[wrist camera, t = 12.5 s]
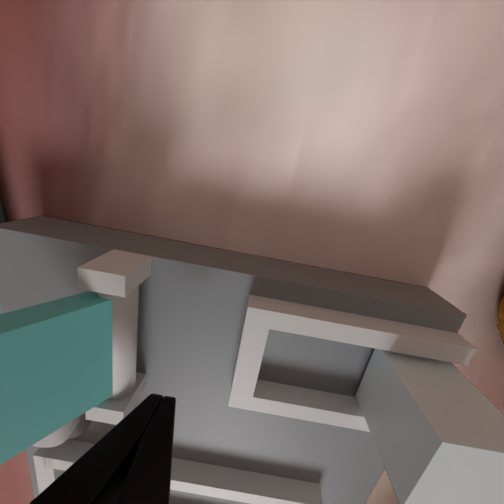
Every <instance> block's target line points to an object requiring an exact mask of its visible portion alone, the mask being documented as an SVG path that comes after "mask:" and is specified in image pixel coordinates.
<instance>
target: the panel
mask: <svg viewBox="0 0 504 504" xmlns="http://www.w3.org/2000/svg"><path fill="white" fill-rule="evenodd" d="M137 286H139V300H138V330H137V360H136V384H135V386H134V388H133V390H132V391H131V392H130V393H128V394H127V395H125V396H123V397H121V398H117V399H106V400H105V401H103V402H101V403H100V404H98V405H97V406H95V407H93V408H92V409H90V410H89V411H87V412H85V413H84V414H82V415H80V416H79V417H77V418H76V419H74V420H72V421H71V422H69V423H68V424H66V425H64V426H63V427H61V428H60V429H58V430H56V431H55V432H53V433H51V434H50V435H48V436H47V437H45V438H43V439H42V440H40V441H39V442H37V443H35V444H34V445H32V446H30V447H29V448H27V449H26V452H27V457H28V463H29V469H30V475H31V480H32V486H33V492H34V498H36V497H37V496H38V495H39V494H40V493H41V492H42V491H44V490H45V489H46V488H47V487H48V486H49V485H50V484H51V483H52V482H54V481H55V480H56V479H57V478H58V477H59V476H60V475H61V474H62V473H64V472H65V471H66V470H67V469H68V468H69V467H70V466H71V465H72V464H74V463H75V462H76V461H77V460H78V459H79V458H80V457H81V456H82V455H84V454H85V453H86V452H87V451H88V450H89V449H90V448H91V447H92V446H93V445H95V444H96V443H97V442H98V441H99V440H100V439H101V438H102V437H103V436H105V435H106V434H107V433H108V432H109V431H110V430H111V429H112V428H113V427H115V426H116V425H117V424H118V423H119V422H120V421H121V420H122V419H123V418H125V417H126V416H127V415H128V414H129V413H130V412H131V411H132V410H133V409H134V408H136V407H137V406H138V405H139V404H140V403H141V402H142V401H143V400H144V399H146V398H147V397H148V396H149V395H150V394H153V393H154V394H160V395H163V397H164V396H171V397H175V398H176V408H175V423H174V438H173V454H172V469H171V484H170V500H169V504H366V502H367V500H368V498H369V496H370V495H371V493H372V491H373V489H374V487H375V485H376V483H377V482H378V480H379V478H380V476H381V474H382V472H383V470H384V469H385V467H384V464H383V462H382V459H381V457H380V454H379V452H378V450H377V447H376V445H375V442H374V440H373V437H372V435H371V433H370V430H369V428H368V425H367V423H366V420H365V418H364V416H363V413H362V411H361V408H360V406H359V403H358V401H357V398H356V396H355V395H356V393H357V390H358V388H359V385H360V383H361V381H362V378H363V376H364V373H365V371H366V369H367V366H368V364H369V361H370V359H371V357H372V354H373V352H374V349H381V350H386V351H392V352H397V353H402V354H408V355H413V356H419V357H424V358H430V359H435V360H441V361H446V362H451V363H457V364H462V365H468V364H469V362H470V360H471V359H472V357H473V355H474V353H475V352H476V350H477V349H476V348H475V347H474V346H473V345H471V344H470V343H469V342H468V341H466V340H465V339H464V338H463V337H462V336H460V335H459V334H458V333H457V332H458V330H459V329H460V327H461V325H462V323H463V321H464V319H465V317H466V316H467V315H466V314H465V313H463V312H462V311H461V310H459V309H458V308H456V307H455V306H453V305H452V304H450V303H449V302H448V301H446V300H445V299H443V298H442V297H440V296H439V295H437V294H436V293H435V292H433V291H432V290H430V289H429V288H427V287H421V286H416V285H410V284H405V283H400V282H394V281H389V280H384V279H378V278H373V277H368V276H362V275H357V274H351V273H346V272H341V271H335V270H330V269H325V268H319V267H314V266H309V265H303V264H298V263H292V262H287V261H282V260H276V259H271V258H266V257H260V256H255V255H249V254H244V253H239V252H233V251H228V250H223V249H217V248H212V247H207V246H201V245H196V244H190V243H185V242H180V241H174V240H169V239H164V238H158V237H153V236H148V235H142V234H137V233H131V232H126V231H121V230H115V229H110V228H105V227H99V226H94V225H88V224H83V223H78V222H72V221H67V220H62V219H56V218H51V217H46V216H38V217H32V218H27V219H22V220H16V221H11V222H6V223H0V302H1V307H2V313H7V312H11V311H15V310H18V309H22V308H26V307H30V306H34V305H38V304H41V303H45V302H49V301H53V300H57V299H61V298H64V297H68V296H72V295H76V294H80V293H83V292H87V291H93V292H98V293H104V294H109V295H115V296H120V297H126V296H127V295H128V294H129V293H131V292H132V291H133V290H134V289H135V288H136V287H137Z"/></svg>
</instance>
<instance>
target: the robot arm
mask: <svg viewBox="0 0 504 504" xmlns="http://www.w3.org/2000/svg"><path fill="white" fill-rule="evenodd" d="M175 408H176V398H175V397H171V396H164V397H163V395H160V394H154V393H153V394H150V395H149V396H148V397H147V398H146V399H144V400H143V401H142V402H141V403H140V404H139V405H138V406H137V407H136V408H134V409H133V410H132V411H131V412H130V413H129V414H128V415H127V416H126V417H125V418H123V419H122V420H121V421H120V422H119V423H118V424H117V425H116V426H115V427H113V428H112V429H111V430H110V431H109V432H108V433H107V434H106V435H105V436H103V437H102V438H101V439H100V440H99V441H98V442H97V443H96V444H95V445H93V446H92V447H91V448H90V449H89V450H88V451H87V452H86V453H85V454H84V455H82V456H81V457H80V458H79V459H78V460H77V461H76V462H75V463H74V464H72V465H71V466H70V467H69V468H68V469H67V470H66V471H65V472H64V473H62V474H61V475H60V476H59V477H58V478H57V479H56V480H55V481H54V482H52V483H51V484H50V485H49V486H48V487H47V488H46V489H45V490H44V491H42V492H41V493H40V494H39V495H38V496H37V497H36V498H35V499H34V500H33V501H31V502H30V504H169V500H170V484H171V469H172V454H173V438H174V423H175Z"/></svg>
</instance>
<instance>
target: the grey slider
mask: <svg viewBox="0 0 504 504" xmlns="http://www.w3.org/2000/svg"><path fill="white" fill-rule="evenodd" d="M355 396H356V398H357V401H358V403H359V406H360V408H361V411H362V413H363V416H364V418H365V420H366V423H367V425H368V428H369V430H370V433H371V435H372V437H373V440H374V442H375V445H376V447H377V450H378V452H379V454H380V457H381V459H382V462H383V464H384V467H385V469H386V472H387V474H388V476H389V479H390V481H391V484H392V486H393V489H394V491H395V493H396V496H397V498H398V501H399V503H400V504H504V415H503V414H502V413H501V412H500V411H499V410H498V409H497V408H496V407H495V406H494V405H493V404H492V403H491V402H490V401H489V400H488V399H487V398H486V397H485V396H484V395H483V394H482V393H481V392H480V391H479V390H478V389H477V388H476V387H475V386H474V385H473V384H472V383H471V382H470V381H469V380H468V379H467V378H466V377H465V376H464V375H463V374H462V373H461V372H460V371H459V370H458V369H457V368H456V367H455V366H454V365H453V364H452V363H451V362H446V361H441V360H435V359H430V358H424V357H419V356H413V355H408V354H402V353H397V352H392V351H386V350H381V349H374V352H373V354H372V357H371V359H370V361H369V364H368V366H367V369H366V371H365V373H364V376H363V378H362V381H361V383H360V385H359V388H358V390H357V393H356V395H355Z"/></svg>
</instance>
